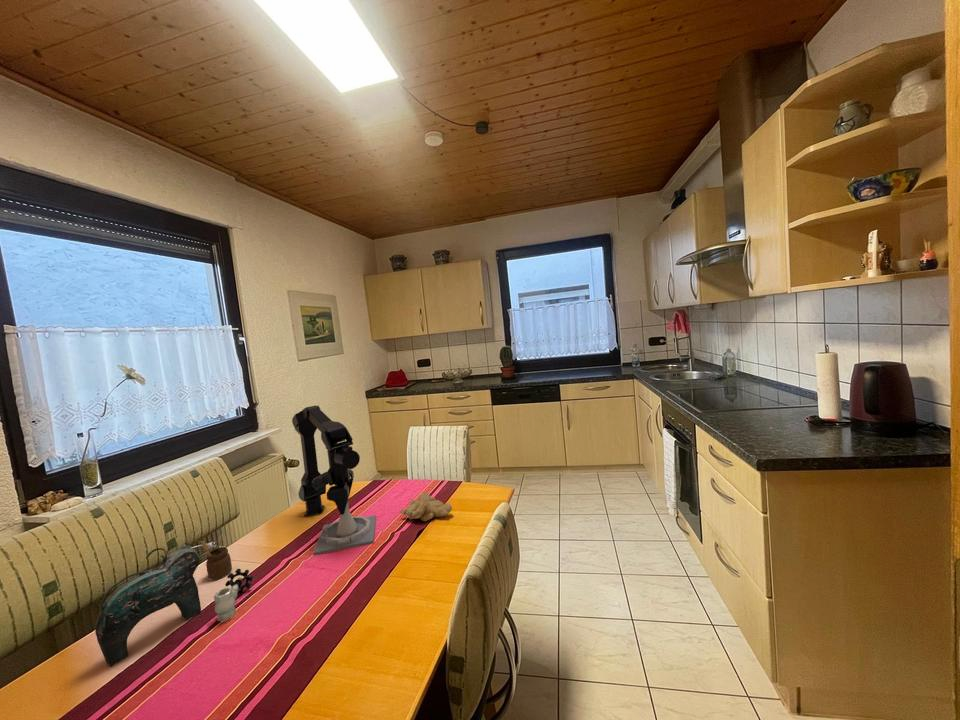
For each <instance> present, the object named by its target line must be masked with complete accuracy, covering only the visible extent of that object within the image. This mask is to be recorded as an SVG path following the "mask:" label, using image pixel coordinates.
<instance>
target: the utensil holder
mask: <svg viewBox="0 0 960 720" xmlns="http://www.w3.org/2000/svg"><path fill="white" fill-rule="evenodd" d="M222 537H223V538H222ZM226 537H227V535H226V534H221V535H220V536H219V537H218V539H217V542H220V540H225V539H226ZM200 542H201V544H202V546H203V549H204V550H205V551H206V552H207V553H206V564H205V565H206V573H207V578H208V580H212V581H215V580H219V579H223V578H224V577H226V576H228V575H229V574H230V573H232V569H233V566H232V560H231V555H230V553H229V550H228V548H227V546H226V545H228V542H225V543H223V546H217V548H215V549H211V550H210V549H209V547H208V545H207V544H206V541H203V540H201V541H200Z"/></svg>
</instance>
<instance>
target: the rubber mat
mask: <svg viewBox="0 0 960 720" xmlns="http://www.w3.org/2000/svg"><path fill="white" fill-rule="evenodd" d="M365 517H366V518H368V519H369V520H370V522H371V528H370V531H369V532H368V533H367V534H366V535H365V536H364V537H363V538H361V539H359V540H356V541H354V542H352V543H348V544H343V545H339V546H338V545H337V546H336V545H327V544H326V543H325V542H324V541H322V532H323V530H324V528H326V527H327V526H328V525H330V524H331V523H325V524H324V525H323V526H322V529H321V532H320V534H319V536H318V540H317V542H316V545H315V547H314V549H313V552H312V554H313V556H316V555H322V554H326V553H331V552H336V551H341V550H346V549H351V548H357V547H362V546H366V545H370V544H374V542H375V532H376V525H377V524H376V523H377V515H369V516H365ZM356 524H357V526H358V531H357V532H359V531H361V530H362V529H363V528H364V527H365V526H366V525H365V524H363V523H356ZM337 528H338V527H337ZM337 528H335V529H333V530H332V531H331V532H330V533H328V536H329V537H332V538H342V537H337V536H336V532H337ZM357 532H356V533H357ZM354 534H355V533H354Z"/></svg>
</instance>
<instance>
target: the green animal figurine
mask: <svg viewBox="0 0 960 720" xmlns="http://www.w3.org/2000/svg"><path fill="white" fill-rule="evenodd" d="M159 550H161V551H163V552H164V553H165V554H160V557H161V558H162V559H163V560H162V563H161V564H160V565H159V566H157V567H154V568H150V569H148V570H144V571H140V572H136V573H131V574H129V575H128V576H126V577H124V578H122V579H120V580H119V581H117V582H115V583H114V584H113V585H112V586H111V587H110V588H108V590H106V592H105V593H104V595H103V596H102V600H101V602H100V608H99V609H100V610H99V613H98V616H97V619H96V622H95V628H94V629H95V631H94V632H95V636H96V640H97V643H98V645H99V648H100V651H101V653H102V656H103V657H104V661H105V663H106V664H107V665H108V666H109V667H113V666H114V665H117V664H119V663H120V662H122V661H123V660H125V659H126V658H127V657H128V656H129V650H128V638H129V636H130V634H131V632H132V631H133V630H134V628H135V626H137V625H138V623H140V621H142V620H143V619H144V618H146V617H148V616H150V615H152V614H154V613H156V612H158V611H160V610H162V609H165V608H167V607H170V606H172V605H173V604H175V605H176V607H177V608H178V610H179V611H180V614H181V618H183V619H184V620H186V621H189V620H190V619H192V618H193V617H194V616H196V615H198V614H200V613H202V607H201V599H200V595H199V588H198V585H197V582H196V579H195V577H194V574H195V572H196V570H197V568H198V567H199V564H200V557H199V554H198V552H197V551H196V550H195V549H194V548H192V547H191V545H190V544H189V542H188V541H184V542H183V545H182V546H181V548H178V549H175V550H174V551H172V552H171V553H170V554H167V551H166V550H165V548H162V547H158V548H156V547H155V548H154V549H152V550H151V551H149V552H148V554H147V555H146V557H145V559H146V560H148V558H149V557H150V556H151V554H153V553H154V552H156V551H159ZM134 576H135V577H134ZM131 577H133V578H131ZM129 578H131V579H130V580H128V581H127V582H125V583H123V584H122V585H120V586H118V587H117V585H119V584H121V583H122V582H124V581H125V580H127V579H129ZM115 587H117V588H115ZM114 588H115V590H114V591H113V592H112V593H111V594H110V595H109V593H110V592H111V591H112V589H114ZM108 595H109V596H108ZM107 596H108V597H107ZM105 599H106V600H105Z"/></svg>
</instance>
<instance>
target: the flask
mask: <svg viewBox="0 0 960 720" xmlns="http://www.w3.org/2000/svg"><path fill="white" fill-rule="evenodd" d="M349 504H350V503H349V501H348V502H347V505H346V509H345V513H344V514H343V515H340V514H339V519H338V520H339V524H338V528H337V532H336V536H337V537H347V536H351V535H353V534H354V533H356V532H357V531H358V526H357V524H356V522H355V521H354V519H353V517H352V516H353V515H352V514H351V512H350V509H349V508H350V507H349Z"/></svg>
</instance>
